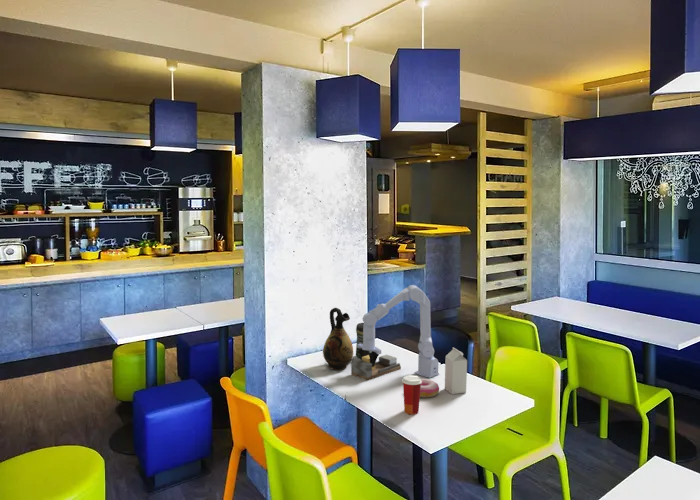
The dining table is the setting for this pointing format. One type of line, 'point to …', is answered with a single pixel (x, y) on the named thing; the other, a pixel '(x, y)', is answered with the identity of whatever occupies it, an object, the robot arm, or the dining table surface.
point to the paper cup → (411, 394)
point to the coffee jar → (359, 338)
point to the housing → (367, 360)
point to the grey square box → (387, 360)
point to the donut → (428, 388)
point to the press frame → (370, 369)
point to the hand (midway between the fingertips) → (368, 365)
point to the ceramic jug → (338, 343)
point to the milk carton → (455, 372)
